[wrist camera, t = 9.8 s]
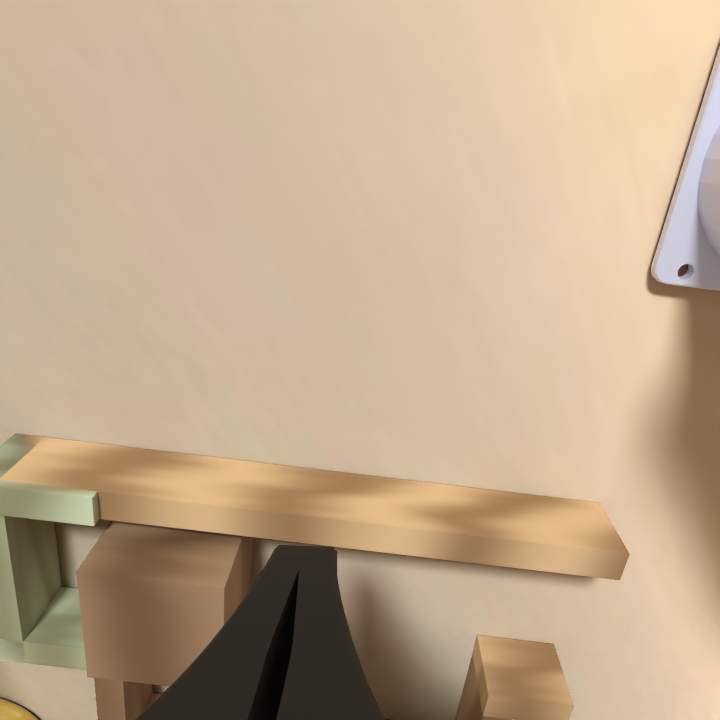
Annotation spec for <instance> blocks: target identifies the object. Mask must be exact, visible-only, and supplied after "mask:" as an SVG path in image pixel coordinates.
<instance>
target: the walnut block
mask: <svg viewBox="0 0 720 720" xmlns="http://www.w3.org/2000/svg"><path fill="white" fill-rule="evenodd" d="M253 540H254V537H248V536H239V535H231V534H222V533H214V532H205V531H197V530H188V529H180V528H171V527H163V526H154V525H146V524H137V523H129V522H120V521H111V522H110V524H109V525H108V527H107V528H106V530H105V531H104V532H103V534H102V535H101V537H100V538H99V540H98V541H97V543H96V544H95V545H94V547H93V548H92V550H91V551H90V553H89V554H88V555H87V557H86V558H85V560H84V561H83V563H82V564H81V566H80V567H79V568H78V570H77V571H76V572H77V582H78V591H79V601H80V610H81V620H82V629H83V639H84V648H85V658H86V667H87V677H92V678H100V679H109V680H118V681H127V682H136V683H145V684H154V685H162V686H171V685H172V684H173V683H174V682H175V681H176V680H177V679H178V678H179V676H180V675H181V674H182V673H183V672H184V671H185V670H186V669H187V668H188V667H189V666H190V665H191V664H192V663H193V661H194V660H195V659H196V658H197V657H198V656H199V655H200V654H201V652H202V651H203V650H204V649H205V648H206V647H207V645H208V644H209V643H210V642H211V641H212V639H213V638H214V637H215V636H216V634H217V633H218V632H219V631H220V629H221V628H222V627H223V626H224V624H225V623H226V622H227V621H228V619H229V618H230V617H231V615H232V614H233V613H234V611H235V610H236V609H237V607H238V606H239V604H240V603H241V602H242V600H243V599H244V597H245V596H246V595H247V593H248V592H249V590H250V589H251V584H252V562H253Z"/></svg>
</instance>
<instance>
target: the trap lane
mask: <svg viewBox="0 0 720 720" xmlns="http://www.w3.org/2000/svg"><path fill="white" fill-rule="evenodd" d="M99 519H103V520H112V521H120V522H129V523H137V524H146V525H154V526H163V527H171V528H180V529H188V530H197V531H205V532H214V533H222V534H231V535H239V536H248V537H256V538H265V539H273V540H282V541H290V542H299V543H307V544H316V545H324V546H333V547H341V548H350V549H358V550H367V551H375V552H384V553H392V554H401V555H410V556H418V557H427V558H435V559H444V560H452V561H461V562H469V563H478V564H486V565H495V566H503V567H512V568H520V569H529V570H537V571H546V572H554V573H563V574H571V575H580V576H588V577H597V578H605V579H614V580H620V579H621V576H622V573H623V570H624V568H625V565H626V562H627V560H628V557H629V552H628V551H627V549H626V547H625V545H624V544H623V542H622V540H621V538H620V537H619V535H618V533H617V531H616V530H615V528H614V526H613V525H612V523H611V521H610V519H609V518H608V516H607V514H606V512H605V511H604V509H603V507H602V505H601V504H600V503H597V502H588V501H580V500H571V499H563V498H554V497H546V496H538V495H529V494H521V493H512V492H504V491H495V490H487V489H478V488H470V487H461V486H453V485H445V484H436V483H428V482H419V481H411V480H402V479H394V478H385V477H377V476H369V475H360V474H352V473H343V472H335V471H326V470H318V469H309V468H301V467H292V466H284V465H276V464H267V463H259V462H250V461H242V460H233V459H225V458H216V457H208V456H200V455H191V454H183V453H174V452H166V451H157V450H149V449H140V448H132V447H123V446H115V445H107V444H98V443H90V442H81V441H73V440H64V439H56V438H47V437H39V436H31V435H22V434H14V435H13V436H12V437H11V438H10V439H8V440H7V441H6V442H5V443H4V444H2V445H1V446H0V660H3V661H12V662H21V663H29V664H38V665H47V666H55V667H64V668H73V669H81V670H87V667H86V658H85V648H84V639H83V629H82V620H81V610H80V601H79V591H78V589H77V588H68V587H62V586H61V577H60V568H59V559H58V550H57V541H56V531H55V522H63V523H71V524H80V525H88V526H95V524H96V523H97V522H98V520H99ZM346 621H347V620H346ZM94 680H95V691H96V702H97V714H98V720H135V719H136V718H137V717H138V716H139V715H140V714H141V713H142V712H144V711H145V710H146V709H147V708H148V707H149V706H150V705H151V704H152V703H153V702H154V701H155V700H156V699H157V698H158V697H159V696H160V695H161V694H160V693H153V685H152V684H145V683H136V682H127V681H118V680H109V679H100V678H94ZM573 707H574V705H573V701H572V698H571V695H570V692H569V689H568V686H567V683H566V680H565V677H564V674H563V671H562V668H561V665H560V662H559V659H558V656H557V653H556V650H555V647H554V644H549V643H540V642H531V641H523V640H514V639H506V638H497V637H488V636H480V635H477V639H476V643H475V647H474V651H473V655H472V658H471V662H470V666H469V670H468V674H467V678H466V682H465V686H464V689H463V693H462V697H461V701H460V705H459V709H458V713H457V717H456V720H512V719H513V720H569V718H570V715H571V712H572V709H573ZM384 720H386V719H384Z"/></svg>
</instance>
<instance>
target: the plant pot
mask: <svg viewBox="0 0 720 720" xmlns="http://www.w3.org/2000/svg"><path fill="white" fill-rule="evenodd" d="M0 720H39V719H37V718H36V717H35V716H34V715H33V714H31V713H30V712H29V711H27V710H26V709H24V708H22V707H21V706H19V705H17V704H14V703H12V702H9V701H7V700H4V699H1V698H0Z"/></svg>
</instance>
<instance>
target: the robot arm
mask: <svg viewBox="0 0 720 720" xmlns="http://www.w3.org/2000/svg"><path fill="white" fill-rule="evenodd" d="M684 264H687V265H688V271H687V272H686V274H685V275H683V276H680V277H679V276H678V270H679V268H680V267H681V266H682V265H684ZM651 274H652V277H653V278H654V279H655V280H657V281H658V282H660V283H663V284H667V285H676V286H684V287H692V288H701V289H709V290H717V291H720V47H719V50H718V53H717V56H716V59H715V63H714V66H713V69H712V72H711V76H710V79H709V82H708V85H707V88H706V92H705V95H704V98H703V101H702V105H701V108H700V111H699V114H698V117H697V121H696V124H695V127H694V130H693V134H692V137H691V140H690V143H689V146H688V150H687V153H686V156H685V159H684V162H683V166H682V169H681V172H680V175H679V179H678V182H677V185H676V188H675V191H674V195H673V198H672V201H671V204H670V208H669V211H668V214H667V217H666V220H665V224H664V227H663V230H662V233H661V237H660V240H659V243H658V246H657V249H656V253H655V256H654V259H653V262H652V265H651ZM135 720H384V718H383V716H382V714H381V712H380V710H379V707H378V705H377V703H376V701H375V699H374V696H373V694H372V692H371V689H370V687H369V685H368V682H367V680H366V677H365V675H364V672H363V670H362V667H361V664H360V662H359V659H358V656H357V653H356V650H355V647H354V644H353V641H352V638H351V635H350V632H349V628H348V625H347V621H346V617H345V613H344V609H343V605H342V601H341V596H340V591H339V585H338V579H337V551H336V550H335V549H334V548H333V547H316V546H290V545H279V546H278V547H277V548H275V549H274V551H273V553H272V555H271V557H270V559H269V560H268V562H267V564H266V565H265V567H264V569H263V570H262V572H261V574H260V575H259V577H258V578H257V580H256V581H255V583H254V584H253V586H252V587H251V589H250V590H249V592H248V593H247V595H246V596H245V597H244V599H243V600H242V602H241V603H240V604H239V606H238V607H237V609H236V610H235V611H234V613H233V614H232V615H231V617H230V618H229V619H228V621H227V622H226V623H225V624H224V626H223V627H222V628H221V629H220V631H219V632H218V633H217V634H216V636H215V637H214V638H213V639H212V641H211V642H210V643H209V644H208V645H207V647H206V648H205V649H204V650H203V651H202V652H201V654H200V655H199V656H198V657H197V658H196V659H195V660H194V661H193V663H192V664H191V665H190V666H189V667H188V668H187V669H186V670H185V671H184V672H183V673H182V674H181V675H180V676H179V678H178V679H177V680H176V681H175V682H174V683H173V684H172V685H171V686H170V687H169V688H168V689H167V690H166V691H164V692H163V693H162V694H161V695H160V696H159V697H158V698H157V699H156V700H155V701H154V702H153V703H152V704H151V705H150V706H149V707H148V708H147V709H146V710H145V711H144V712H142V713H141V714H140V715H139V716H138V717H137V718H136V719H135Z"/></svg>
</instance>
